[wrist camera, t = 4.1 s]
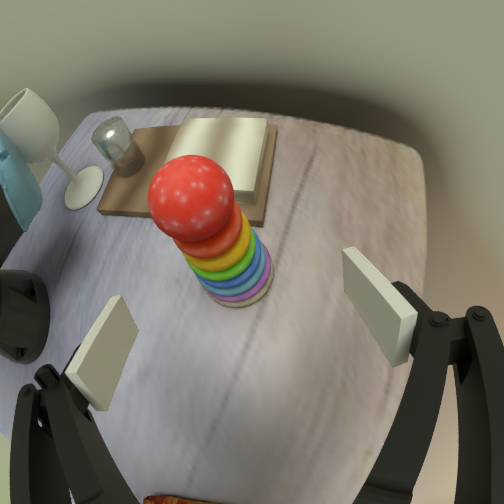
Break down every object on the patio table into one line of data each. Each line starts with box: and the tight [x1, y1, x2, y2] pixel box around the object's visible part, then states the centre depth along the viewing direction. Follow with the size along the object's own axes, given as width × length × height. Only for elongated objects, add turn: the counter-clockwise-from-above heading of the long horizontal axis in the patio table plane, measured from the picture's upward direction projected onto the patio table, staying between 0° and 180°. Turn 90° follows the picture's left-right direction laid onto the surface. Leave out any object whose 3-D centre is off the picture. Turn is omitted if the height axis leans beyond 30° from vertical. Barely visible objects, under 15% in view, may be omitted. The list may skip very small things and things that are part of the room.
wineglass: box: [0, 88, 103, 210], centre depth 29 cm, size 9×9×21 cm
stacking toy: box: [148, 155, 273, 307], centre depth 22 cm, size 8×8×19 cm
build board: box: [97, 118, 277, 227], centre depth 35 cm, size 24×16×4 cm, turn 81°
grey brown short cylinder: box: [91, 117, 145, 178], centre depth 33 cm, size 5×5×8 cm
